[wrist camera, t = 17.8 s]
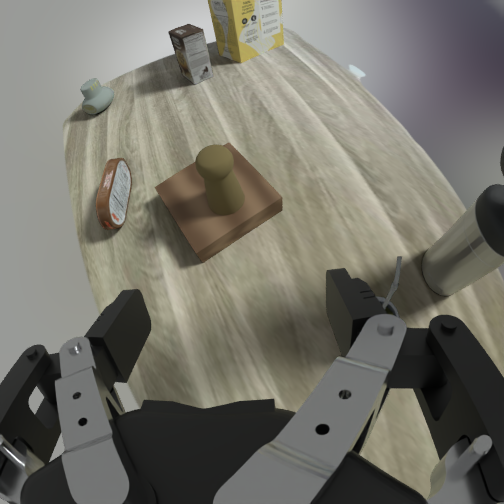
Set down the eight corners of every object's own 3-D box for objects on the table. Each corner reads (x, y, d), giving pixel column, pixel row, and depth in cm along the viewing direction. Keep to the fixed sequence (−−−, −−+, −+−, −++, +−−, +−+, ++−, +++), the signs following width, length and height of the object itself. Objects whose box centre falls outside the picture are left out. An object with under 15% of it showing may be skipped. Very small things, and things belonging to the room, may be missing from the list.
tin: (124, 175, 56) (107, 151, 48) (137, 172, 56) (120, 147, 48) (112, 237, 50) (89, 216, 42) (126, 235, 50) (103, 213, 42)
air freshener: (121, 97, 70) (108, 73, 60) (105, 116, 67) (90, 91, 58) (99, 98, 72) (86, 77, 63) (83, 116, 69) (69, 94, 60)
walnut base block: (232, 156, 54) (229, 142, 51) (282, 210, 48) (282, 197, 45) (162, 199, 52) (154, 187, 48) (202, 263, 46) (196, 253, 42)
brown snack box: (181, 75, 70) (167, 31, 55) (200, 66, 71) (188, 22, 56) (194, 85, 67) (180, 37, 52) (214, 76, 67) (203, 28, 53)
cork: (201, 207, 45) (180, 164, 35) (219, 179, 47) (205, 134, 37) (233, 220, 44) (219, 177, 34) (251, 191, 46) (243, 144, 36)
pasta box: (261, 37, 76) (253, -32, 51) (283, 44, 73) (279, -30, 47) (219, 55, 73) (203, -20, 47) (241, 63, 69) (227, -20, 44)
